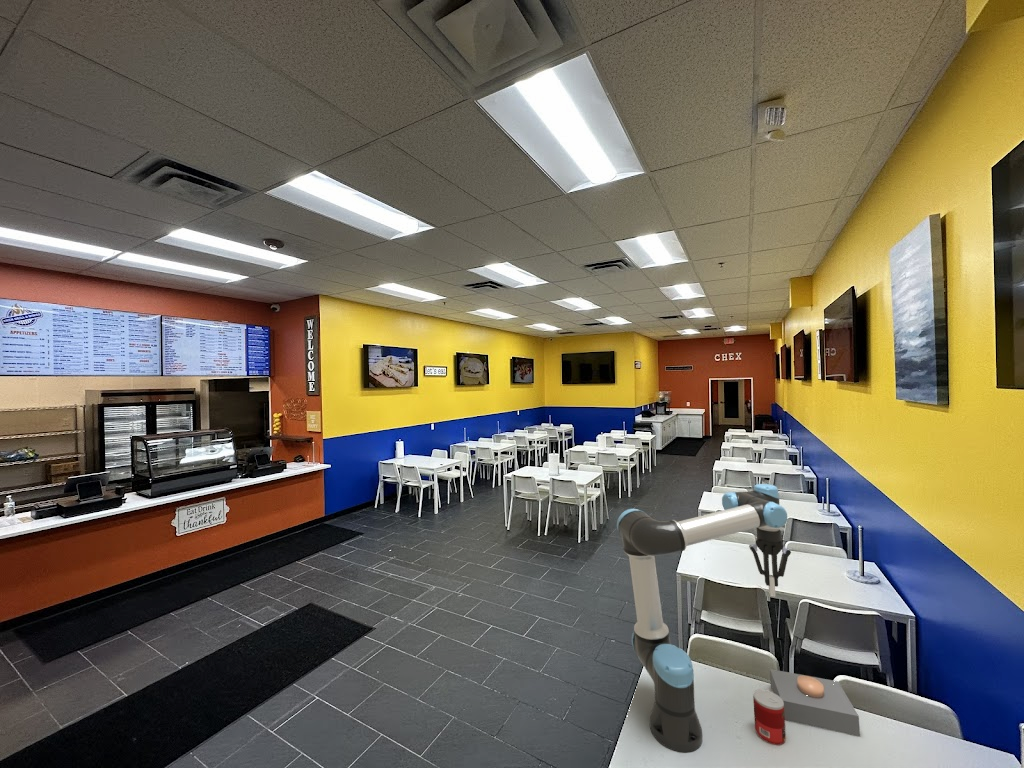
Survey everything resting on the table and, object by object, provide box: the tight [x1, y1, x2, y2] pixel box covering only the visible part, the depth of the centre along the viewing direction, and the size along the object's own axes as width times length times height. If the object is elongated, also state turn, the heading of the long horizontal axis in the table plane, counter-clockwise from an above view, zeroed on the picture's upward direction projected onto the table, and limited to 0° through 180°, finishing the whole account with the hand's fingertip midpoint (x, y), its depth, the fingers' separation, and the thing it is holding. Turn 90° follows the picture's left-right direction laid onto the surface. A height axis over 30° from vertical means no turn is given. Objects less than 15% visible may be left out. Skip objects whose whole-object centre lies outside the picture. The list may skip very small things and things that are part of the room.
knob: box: [797, 674, 824, 698], centre depth 134 cm, size 7×7×8 cm
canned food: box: [752, 689, 787, 746], centre depth 124 cm, size 8×8×11 cm
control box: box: [769, 668, 861, 737], centre depth 133 cm, size 20×16×6 cm
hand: (772, 594), depth 145 cm, fingers closed
